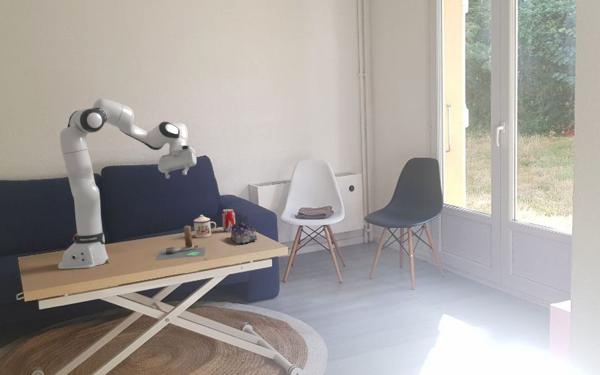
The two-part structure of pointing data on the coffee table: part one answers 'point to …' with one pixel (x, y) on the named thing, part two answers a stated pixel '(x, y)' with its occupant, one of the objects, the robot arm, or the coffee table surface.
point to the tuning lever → (187, 241)
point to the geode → (242, 233)
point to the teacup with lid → (203, 227)
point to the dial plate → (182, 253)
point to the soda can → (228, 219)
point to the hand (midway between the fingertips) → (176, 176)
